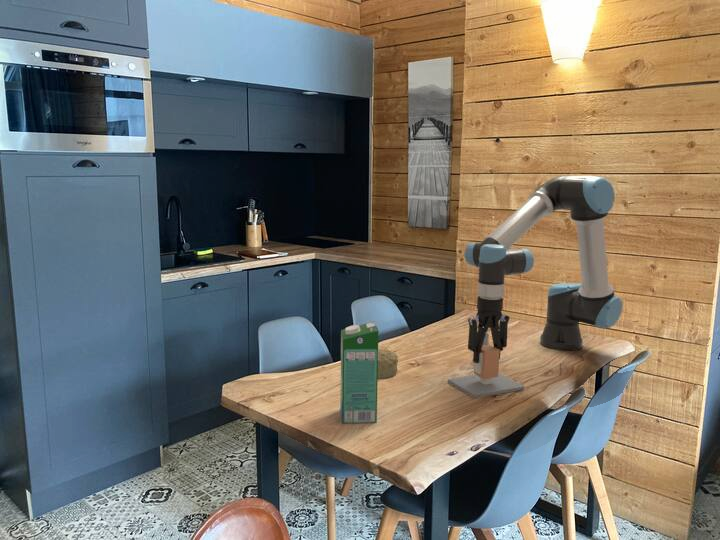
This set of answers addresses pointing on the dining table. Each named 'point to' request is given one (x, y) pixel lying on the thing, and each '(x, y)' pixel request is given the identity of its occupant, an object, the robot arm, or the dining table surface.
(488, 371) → the peach square-faced block
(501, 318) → the robot arm
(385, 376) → the decorative object
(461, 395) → the dining table surface
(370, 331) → the milk carton
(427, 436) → the dining table surface
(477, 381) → the grey flat base
